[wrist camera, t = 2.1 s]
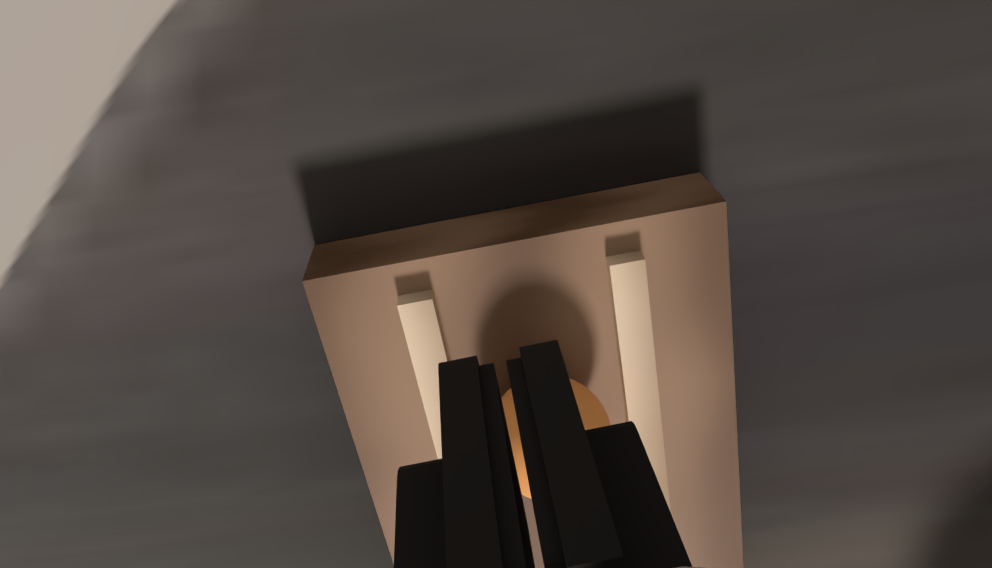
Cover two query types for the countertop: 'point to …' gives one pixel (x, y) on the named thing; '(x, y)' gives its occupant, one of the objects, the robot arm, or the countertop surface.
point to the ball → (589, 412)
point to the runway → (549, 334)
